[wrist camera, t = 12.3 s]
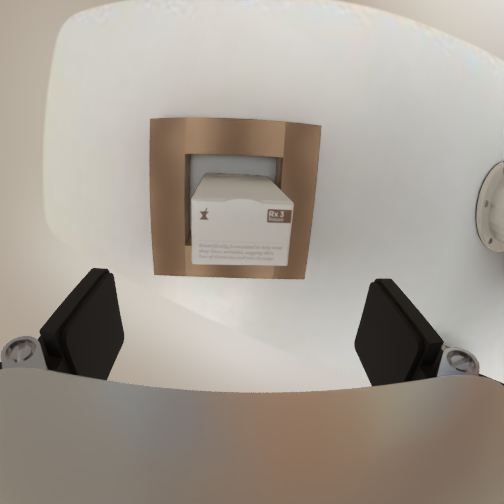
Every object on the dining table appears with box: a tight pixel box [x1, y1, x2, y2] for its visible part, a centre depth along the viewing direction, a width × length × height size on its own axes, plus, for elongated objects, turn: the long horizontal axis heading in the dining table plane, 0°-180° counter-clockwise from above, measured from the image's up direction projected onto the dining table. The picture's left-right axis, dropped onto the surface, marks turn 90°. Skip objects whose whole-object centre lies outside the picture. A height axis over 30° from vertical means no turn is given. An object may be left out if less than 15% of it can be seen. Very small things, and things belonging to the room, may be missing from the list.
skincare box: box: [191, 173, 294, 266], centre depth 23 cm, size 6×4×12 cm
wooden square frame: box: [150, 118, 321, 279], centre depth 27 cm, size 14×14×4 cm
